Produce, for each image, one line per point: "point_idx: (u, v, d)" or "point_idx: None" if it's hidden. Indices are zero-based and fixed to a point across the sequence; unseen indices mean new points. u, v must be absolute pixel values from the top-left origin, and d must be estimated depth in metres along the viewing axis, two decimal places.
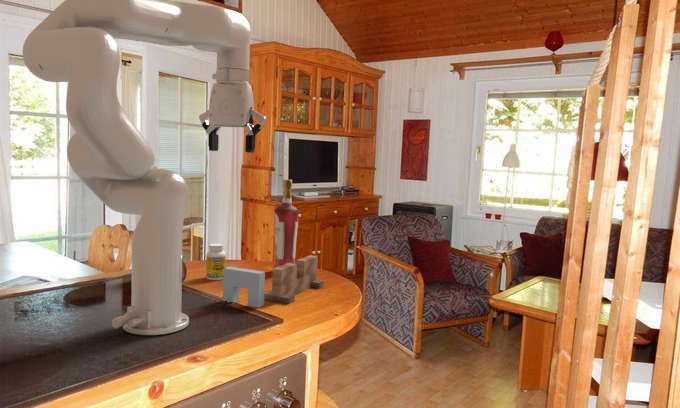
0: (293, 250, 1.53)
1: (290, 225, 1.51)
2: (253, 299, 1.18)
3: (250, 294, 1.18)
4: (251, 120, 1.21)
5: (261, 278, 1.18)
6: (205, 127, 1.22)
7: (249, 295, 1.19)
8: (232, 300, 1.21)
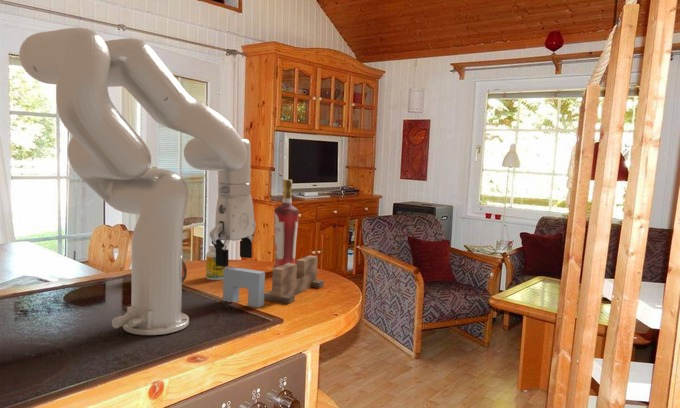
0: (293, 250, 1.53)
1: (290, 225, 1.51)
2: (253, 299, 1.18)
3: (250, 294, 1.18)
4: None
5: (261, 278, 1.18)
6: (220, 244, 1.15)
7: (249, 295, 1.19)
8: (232, 300, 1.21)
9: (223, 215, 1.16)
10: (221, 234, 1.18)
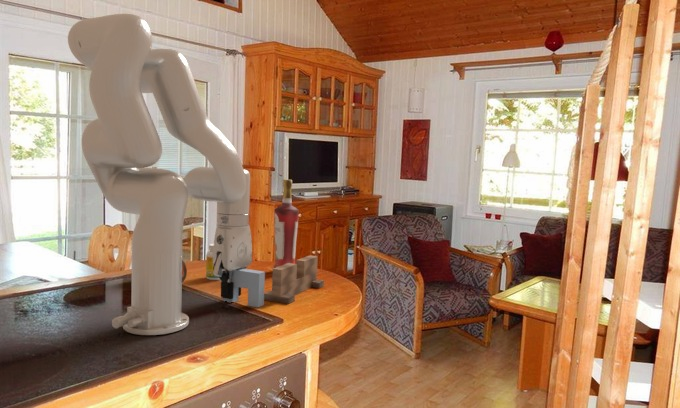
0: (293, 250, 1.53)
1: (290, 225, 1.51)
2: (252, 299, 1.18)
3: (250, 294, 1.18)
4: None
5: (261, 278, 1.18)
6: (225, 277, 1.18)
7: (249, 295, 1.19)
8: (232, 300, 1.21)
9: (221, 245, 1.16)
10: None
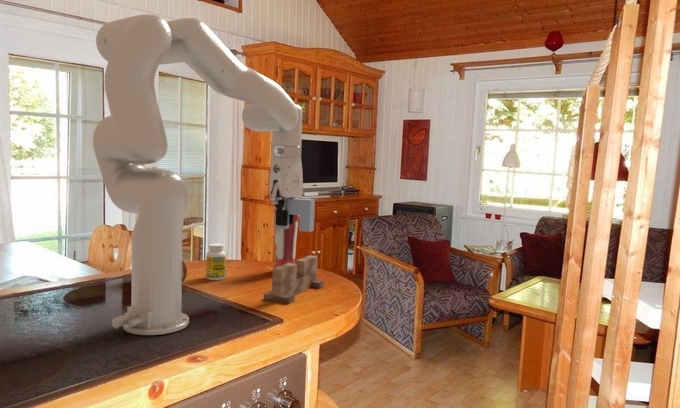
0: (293, 250, 1.53)
1: (290, 225, 1.51)
2: (304, 224, 1.28)
3: (301, 220, 1.28)
4: None
5: (311, 205, 1.28)
6: (281, 204, 1.28)
7: (300, 221, 1.28)
8: (284, 227, 1.30)
9: (277, 174, 1.26)
10: None
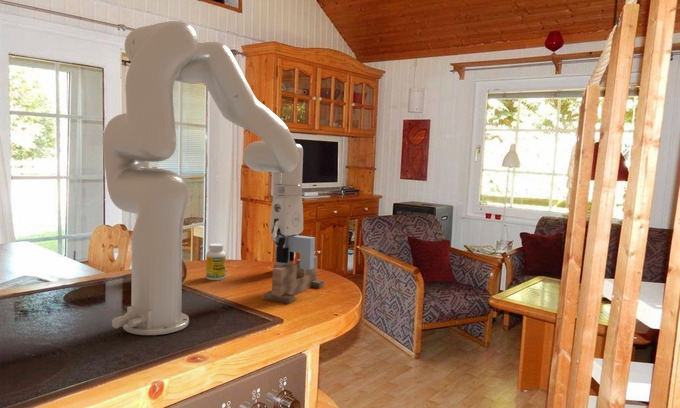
0: None
1: None
2: (304, 262, 1.29)
3: (302, 257, 1.30)
4: None
5: (312, 243, 1.29)
6: (282, 242, 1.29)
7: (301, 258, 1.30)
8: (284, 263, 1.32)
9: (278, 213, 1.27)
10: None
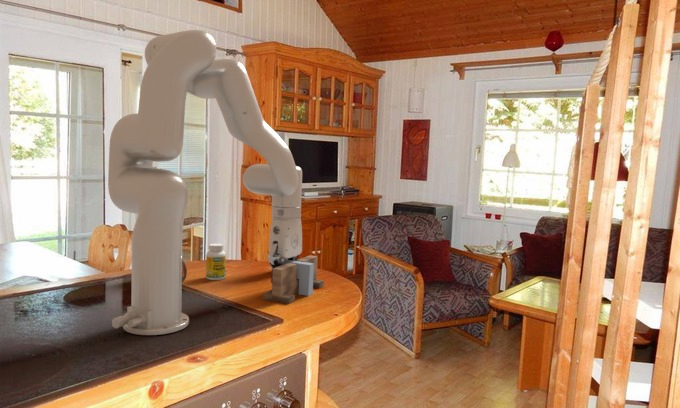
0: None
1: None
2: (303, 288, 1.30)
3: (301, 283, 1.30)
4: None
5: (311, 269, 1.30)
6: (277, 264, 1.28)
7: (300, 284, 1.30)
8: None
9: (277, 235, 1.27)
10: None
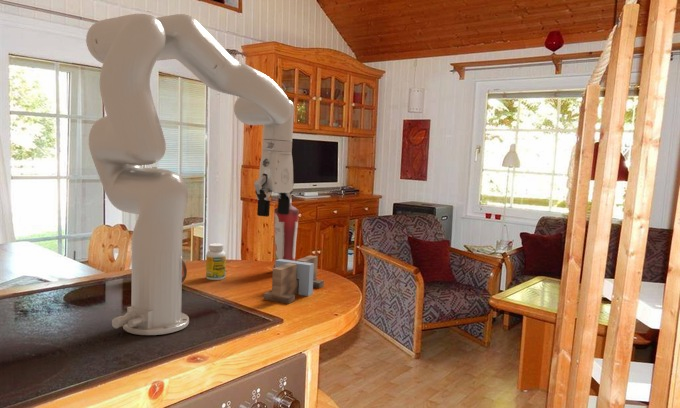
0: (293, 250, 1.53)
1: (290, 225, 1.51)
2: (303, 288, 1.30)
3: (300, 284, 1.30)
4: None
5: (311, 269, 1.29)
6: (263, 194, 1.24)
7: (299, 285, 1.30)
8: None
9: (267, 168, 1.25)
10: (263, 187, 1.27)
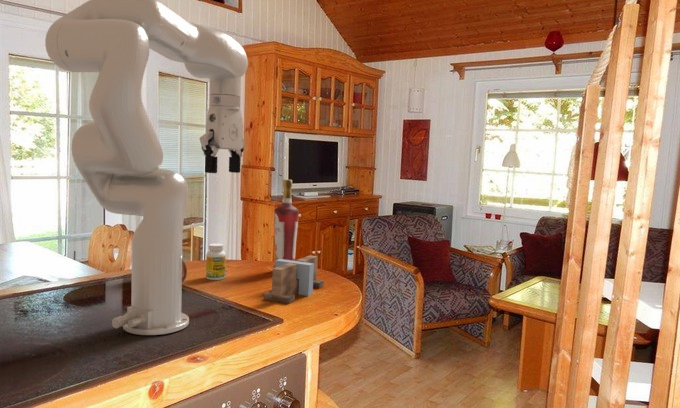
0: (293, 250, 1.53)
1: (290, 225, 1.51)
2: (303, 288, 1.30)
3: (300, 284, 1.30)
4: None
5: (311, 269, 1.29)
6: (209, 150, 1.21)
7: (299, 285, 1.30)
8: None
9: (213, 123, 1.22)
10: (211, 143, 1.24)
